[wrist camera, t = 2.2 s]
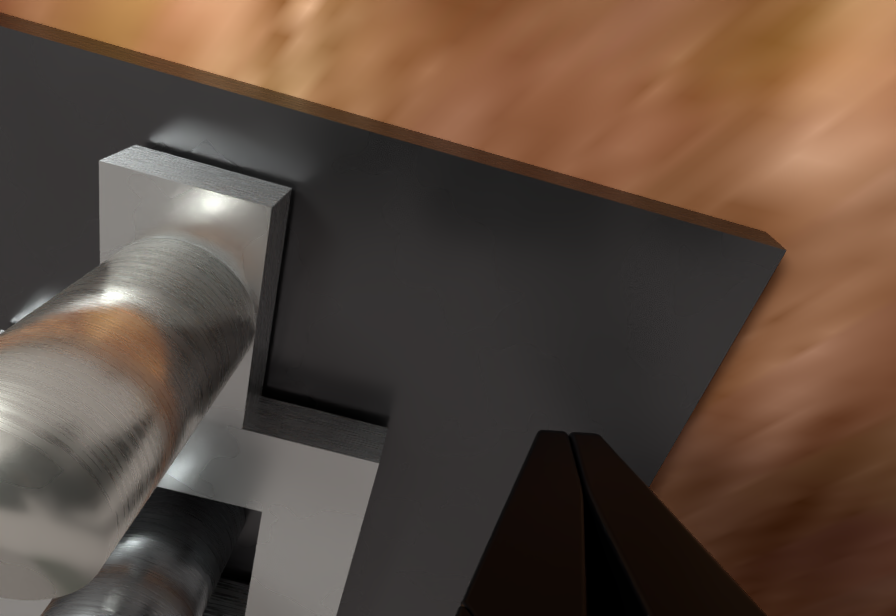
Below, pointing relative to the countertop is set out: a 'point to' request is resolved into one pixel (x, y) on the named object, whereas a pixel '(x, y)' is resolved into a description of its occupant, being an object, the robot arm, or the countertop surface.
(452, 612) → the post base
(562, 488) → the robot arm
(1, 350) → the metal knob latch
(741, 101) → the countertop surface
